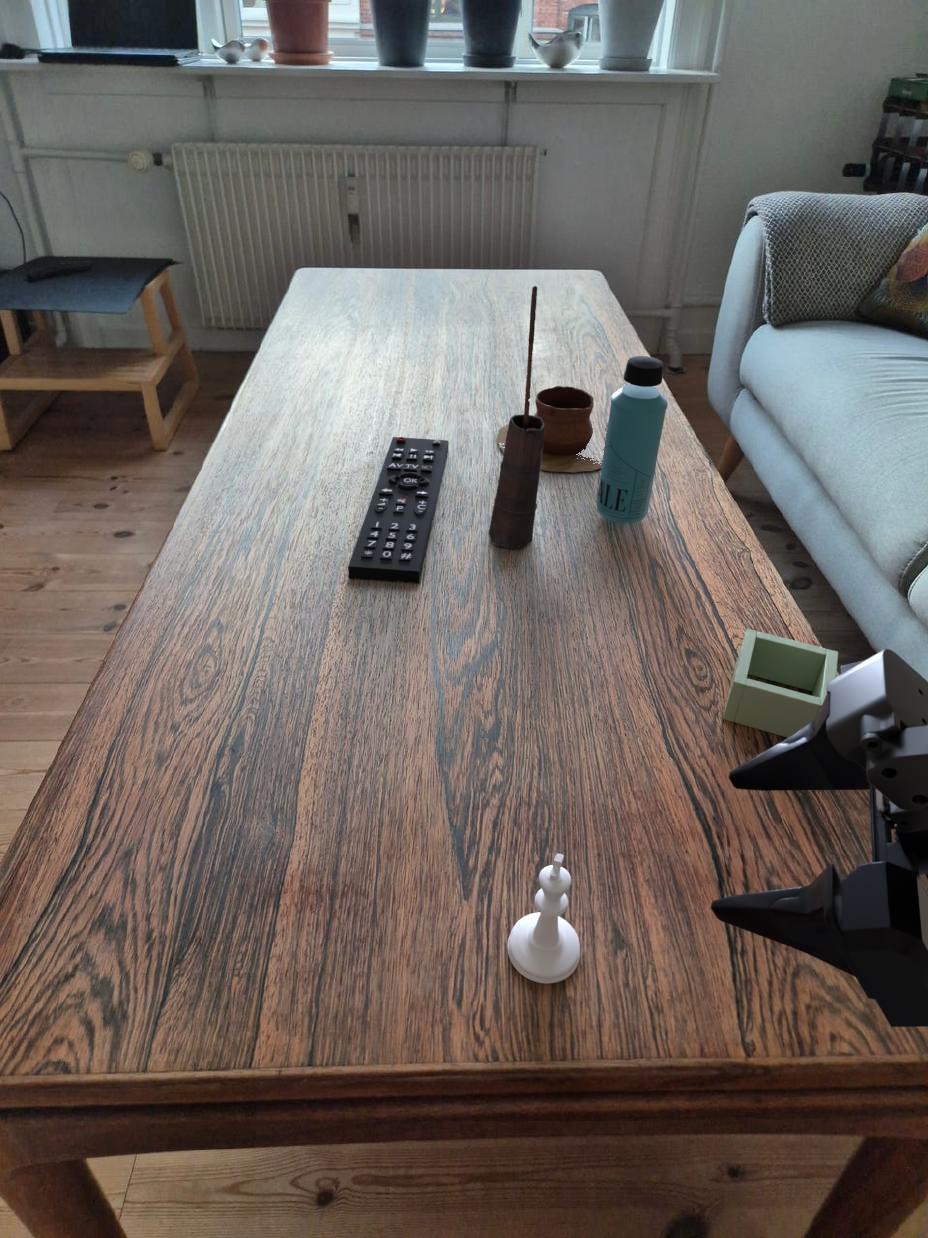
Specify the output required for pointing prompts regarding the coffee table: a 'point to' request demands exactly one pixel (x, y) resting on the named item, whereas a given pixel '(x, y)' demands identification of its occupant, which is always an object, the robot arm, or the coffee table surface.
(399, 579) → the remote control
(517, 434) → the butter churn
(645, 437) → the beverage bottle
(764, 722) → the open green box
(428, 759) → the coffee table surface
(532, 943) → the chess piece
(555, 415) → the ceramic pot
